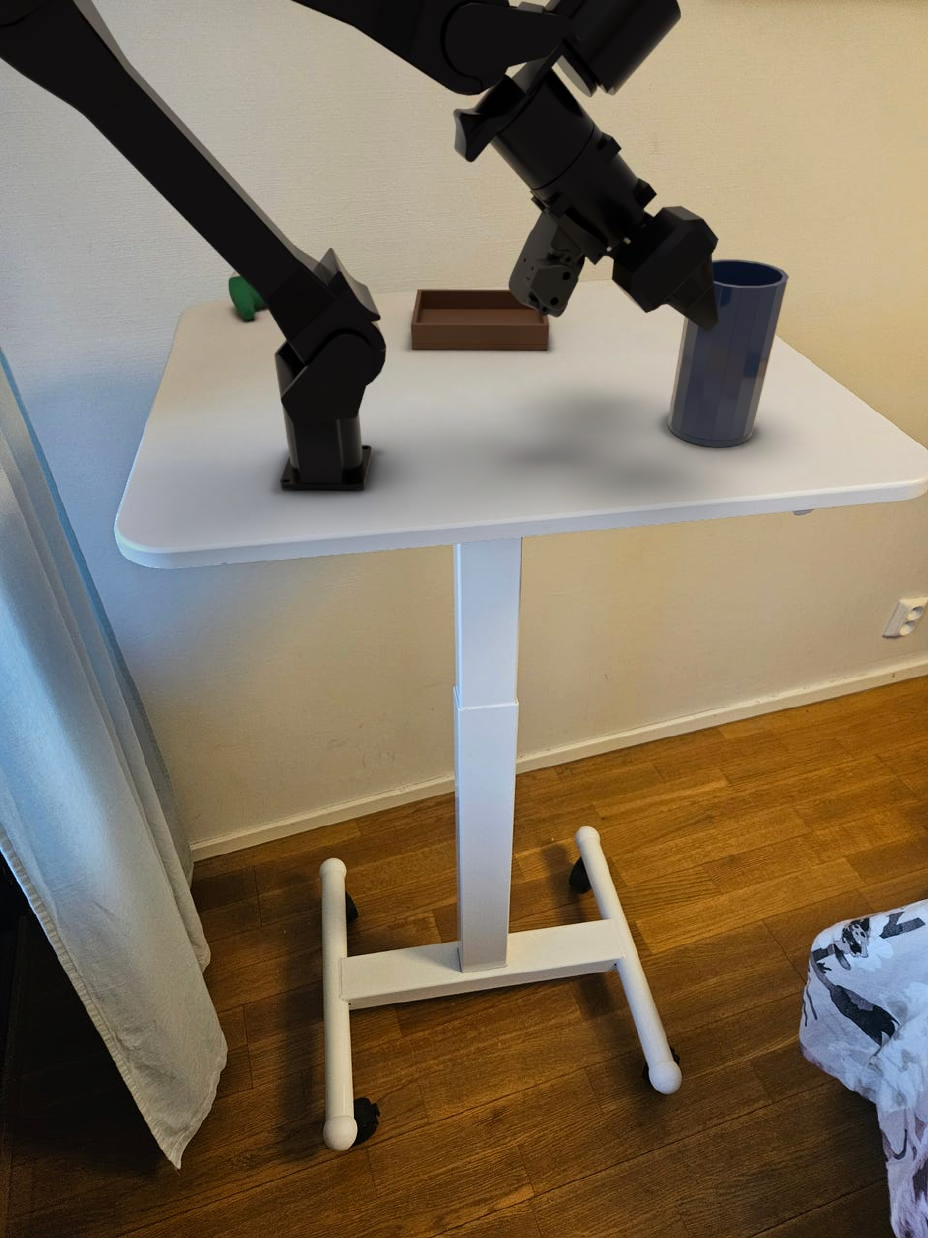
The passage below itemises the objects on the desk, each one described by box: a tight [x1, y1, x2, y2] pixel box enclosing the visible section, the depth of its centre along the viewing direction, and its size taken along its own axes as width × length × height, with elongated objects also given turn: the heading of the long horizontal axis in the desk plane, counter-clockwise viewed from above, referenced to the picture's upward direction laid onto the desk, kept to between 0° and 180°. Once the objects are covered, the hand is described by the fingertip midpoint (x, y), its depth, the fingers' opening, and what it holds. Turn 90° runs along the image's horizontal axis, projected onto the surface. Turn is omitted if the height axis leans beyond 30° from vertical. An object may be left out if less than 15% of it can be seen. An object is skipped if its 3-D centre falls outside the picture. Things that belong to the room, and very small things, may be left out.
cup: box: [667, 258, 790, 448], centre depth 69 cm, size 7×7×13 cm
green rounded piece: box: [227, 269, 265, 321], centre depth 96 cm, size 9×4×6 cm
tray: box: [410, 288, 550, 351], centre depth 91 cm, size 11×14×3 cm
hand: (686, 305), depth 66 cm, fingers open, 9 cm apart
